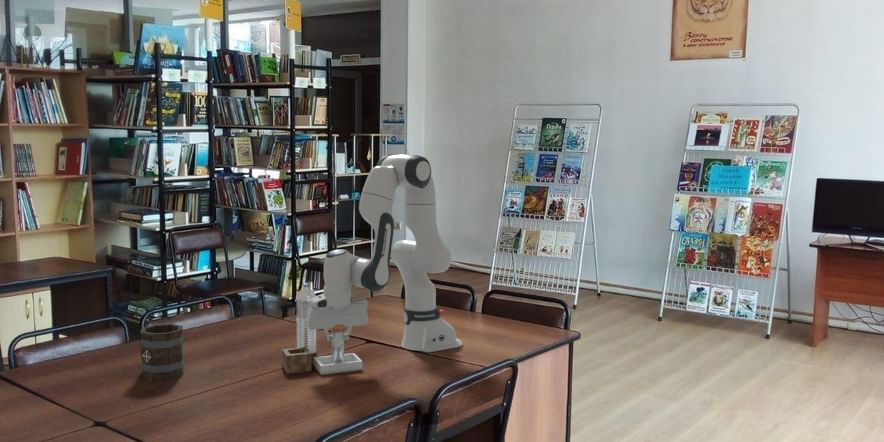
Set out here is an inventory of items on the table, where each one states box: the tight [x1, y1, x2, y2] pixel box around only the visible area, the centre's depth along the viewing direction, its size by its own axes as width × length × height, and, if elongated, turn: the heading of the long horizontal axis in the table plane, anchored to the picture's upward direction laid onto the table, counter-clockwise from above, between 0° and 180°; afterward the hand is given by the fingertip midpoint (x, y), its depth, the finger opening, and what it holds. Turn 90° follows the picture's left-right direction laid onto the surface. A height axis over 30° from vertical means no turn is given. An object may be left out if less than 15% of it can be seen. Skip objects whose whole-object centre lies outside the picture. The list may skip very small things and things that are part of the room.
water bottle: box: [295, 282, 317, 356], centre depth 272 cm, size 7×7×25 cm
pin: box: [329, 325, 346, 364], centre depth 255 cm, size 5×5×14 cm
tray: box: [313, 352, 363, 376], centre depth 256 cm, size 14×10×3 cm
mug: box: [139, 323, 185, 381], centre depth 250 cm, size 20×14×15 cm
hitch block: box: [281, 347, 312, 375], centre depth 255 cm, size 8×8×6 cm
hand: (337, 339), depth 255 cm, fingers closed on pin, 4 cm apart
